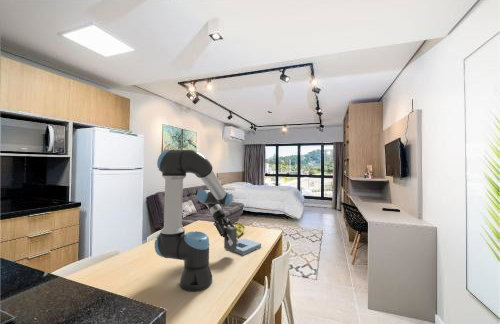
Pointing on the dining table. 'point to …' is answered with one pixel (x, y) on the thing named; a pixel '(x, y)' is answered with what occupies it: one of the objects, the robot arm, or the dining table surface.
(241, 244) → the plate
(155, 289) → the dining table surface
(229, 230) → the servo block
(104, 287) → the dining table surface
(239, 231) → the plastic component
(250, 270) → the dining table surface
